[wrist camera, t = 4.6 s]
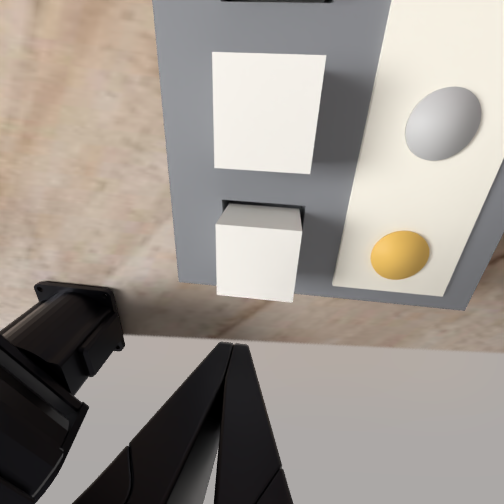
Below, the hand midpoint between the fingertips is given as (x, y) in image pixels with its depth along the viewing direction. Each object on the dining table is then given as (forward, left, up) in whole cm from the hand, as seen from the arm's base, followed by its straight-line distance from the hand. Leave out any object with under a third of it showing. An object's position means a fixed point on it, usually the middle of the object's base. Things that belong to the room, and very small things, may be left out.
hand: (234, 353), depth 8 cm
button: (0, 0, -9) cm, 9 cm away
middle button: (0, +6, -8) cm, 11 cm away
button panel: (+4, +6, -11) cm, 13 cm away
